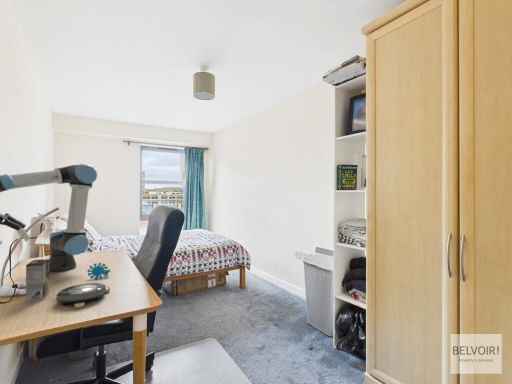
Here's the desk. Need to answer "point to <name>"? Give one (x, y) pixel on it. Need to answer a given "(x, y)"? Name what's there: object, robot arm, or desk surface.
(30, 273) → the coffee box
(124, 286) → the desk surface
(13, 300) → the desk surface
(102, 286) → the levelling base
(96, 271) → the gear
